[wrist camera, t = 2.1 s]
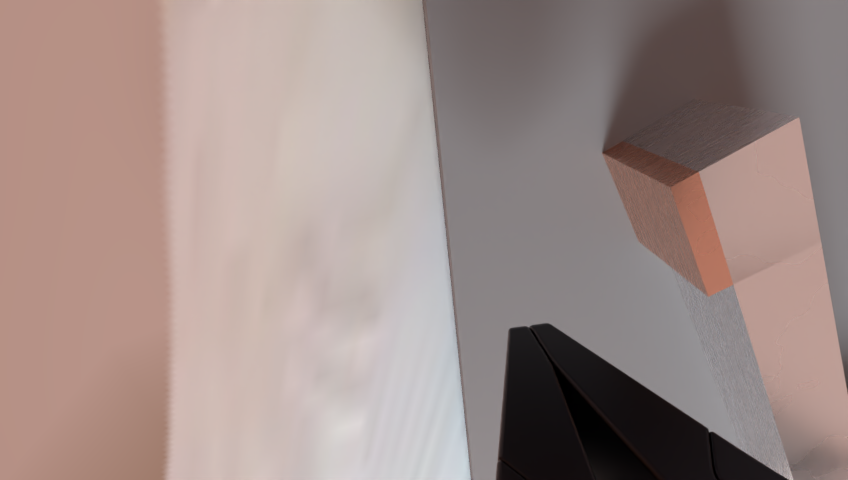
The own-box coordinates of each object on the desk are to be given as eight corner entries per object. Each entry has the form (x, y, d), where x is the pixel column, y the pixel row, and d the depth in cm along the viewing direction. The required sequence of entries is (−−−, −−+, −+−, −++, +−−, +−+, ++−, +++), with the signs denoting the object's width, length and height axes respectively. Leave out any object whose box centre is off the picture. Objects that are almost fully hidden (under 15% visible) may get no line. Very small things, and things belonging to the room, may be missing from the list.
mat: (882, 462, 20) (906, 482, 19) (475, 519, 19) (479, 543, 18) (1215, -116, 10) (1297, -132, 9) (420, -15, 10) (424, -21, 9)
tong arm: (881, 470, 18) (1001, 575, 15) (753, 519, 19) (836, 628, 16) (820, 26, 10) (1064, 14, 6) (601, 152, 11) (704, 204, 7)
